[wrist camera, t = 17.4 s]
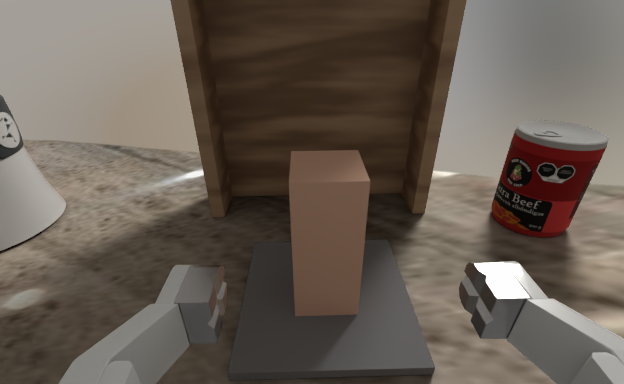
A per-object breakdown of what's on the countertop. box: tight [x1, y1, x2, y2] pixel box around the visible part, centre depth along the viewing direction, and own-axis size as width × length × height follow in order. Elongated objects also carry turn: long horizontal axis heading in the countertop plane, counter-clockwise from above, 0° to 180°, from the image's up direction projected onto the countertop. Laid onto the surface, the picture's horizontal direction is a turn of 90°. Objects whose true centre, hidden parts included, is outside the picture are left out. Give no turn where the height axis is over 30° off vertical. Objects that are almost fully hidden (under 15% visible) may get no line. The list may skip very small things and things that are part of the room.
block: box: [289, 150, 370, 316], centre depth 25 cm, size 5×5×12 cm
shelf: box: [171, 0, 466, 217], centre depth 31 cm, size 13×26×38 cm, turn 91°
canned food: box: [492, 120, 609, 237], centre depth 36 cm, size 8×8×11 cm
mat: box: [228, 239, 435, 380], centre depth 28 cm, size 14×14×1 cm
